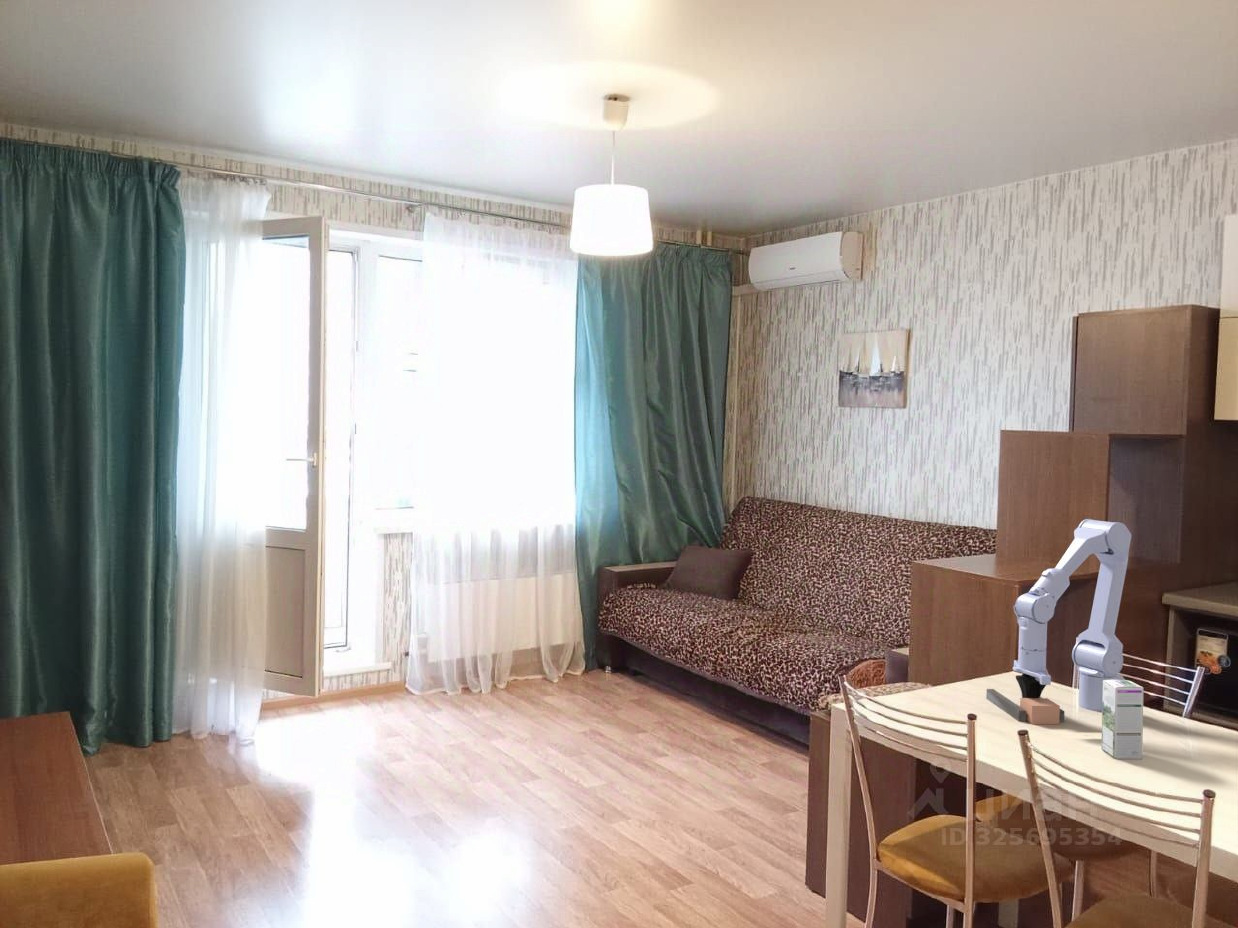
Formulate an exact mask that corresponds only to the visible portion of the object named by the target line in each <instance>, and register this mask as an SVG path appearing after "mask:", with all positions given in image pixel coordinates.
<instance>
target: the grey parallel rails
mask: <svg viewBox="0 0 1238 928" xmlns="http://www.w3.org/2000/svg"><path fill="white" fill-rule="evenodd" d="M985 694H986V697H985V699H986V700H987V701H989V702H990V703H992V704H993V705H995V706H996V707H997V708H999V709H1000V710H1002V711H1003V712H1004V713H1006V714H1007V715H1009V716H1010V717H1011V718H1013V719H1014V720H1016V721H1018V722H1026V723H1027V720H1026V710H1024V709H1023V708H1021V707H1020V705H1018V704H1017V703H1015V702H1014V701H1012V700H1011V699H1009V698H1008V697H1006V696H1004V695H1003V694H1002V693H1000V692H998V691H997V690H996V689H994V688H986V693H985ZM1021 698H1023V697H1022V696H1021ZM1040 698H1043V697H1042V696H1040ZM1065 713H1066V712H1065V710H1063V709H1062V708H1060V714H1059V723H1064V722H1065Z"/></svg>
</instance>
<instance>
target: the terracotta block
mask: <svg viewBox="0 0 1238 928" xmlns="http://www.w3.org/2000/svg"><path fill="white" fill-rule="evenodd" d="M1019 706H1020V707H1021V708H1023V709H1024V710H1026V722H1027V723H1029V724H1031V725H1060V722H1059V714H1060V709H1061V708H1060V707H1061V706H1060V705H1059V704H1057V703H1055V702H1054V701H1052V700H1051V699H1050V698H1048V697H1046V698H1045V697H1042V698H1022V697H1020V700H1019Z"/></svg>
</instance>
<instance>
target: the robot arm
mask: <svg viewBox="0 0 1238 928" xmlns="http://www.w3.org/2000/svg"><path fill="white" fill-rule="evenodd" d="M1073 536H1074V539H1073V540H1072V542H1071V543H1070V545H1069V546H1068V548H1067V550H1066V551H1065V553H1064V554H1063V555H1062V557H1061V558H1060V560H1059V562H1058V563H1057V564H1056V566H1055V567H1054V568H1047V569H1046V570H1043V572H1042V573H1041V576H1040V577H1039V579H1038V580H1037V581H1036V582H1035V583H1034V585H1033V586H1032V587H1031V588H1030V589H1029V591H1028V592H1026V593H1024V594H1021V595H1020V596H1018V597H1017V598H1016V601H1015V603H1014V605H1013V607H1012V608H1013V611H1014V612H1013V613H1014V614H1015V615H1016V619H1017V624H1018V651H1017V652H1018V656H1017V657H1018V658H1017V660H1015V659H1014V660H1013V667H1012V670H1013V671H1014V672H1016V673H1022V674H1021V675H1015V679H1016V682H1017V683H1018V686H1019V688H1020V689H1019V690H1020V692H1021V698H1022V697H1023V698H1040V697H1042V696H1041V695H1042V694H1043V691H1044V689H1045V687H1046V686H1051V685H1052V682H1051V681H1052V676H1051V675H1050V674H1049V672H1048V669H1047V668H1046V667H1047V639H1048V636H1047V635H1048V634H1047V633H1048V632H1047V631H1048V622H1049V621H1050V620H1051V619H1052V618H1053V617H1054V615H1055V607H1056V606H1057V602H1058V600H1059V599H1060V598H1061V596H1062V595H1063V594H1064V593H1065V592H1066V590H1067V588H1069V586H1070V585H1071V584H1070V583H1071V582H1070V577H1071V576H1072V574H1073V573H1074V572H1075V571H1076V570H1077V569H1078V568H1079V567H1080V566H1081V565H1082V564H1083V562H1085V560H1086V559H1088V558H1089V556H1090V555H1094V556H1095V557H1097V559H1098V561H1099V562H1100V566H1099V571H1098V576H1097V582H1096V586H1095V591H1094V597H1093V603H1092V608H1091V613H1090V618H1089V624H1088V628H1087V629H1086V630H1084V631H1083V632H1081V633H1079V634H1078V637H1077V640H1076V643H1075V645H1074V646H1073V648H1072V652H1071V659H1072V661H1073V664H1074V665H1076V670H1077V671H1078V672H1079V678H1078V679H1079V681H1078V707H1080V708H1081V709H1085V710H1088V711H1095V712H1102V703H1103V680H1116V679H1118V680H1126V679H1125V678H1124V676H1123V675H1122V674H1120V672H1121V670H1122V669H1123V665H1124V656H1123V651H1124V650H1123V649H1124V645H1123V643H1122V642H1121V641H1120V639H1119V638H1118V637H1117V636H1116V633H1115V632H1116V627H1117V623H1118V617H1119V611H1120V607H1121V606H1120V605H1121V600H1122V595H1123V591H1124V590H1123V589H1124V584H1125V579H1126V574H1127V568H1128V563H1129V551H1130V547H1131V546H1130V545H1131V540H1132V533H1131V532H1130V530H1129V529H1128V527H1127V525H1126V524H1124V523H1122V522H1119V521H1118V522H1114V521H1113V522H1112V521H1103V520H1095V519H1092V518H1087V519H1086V518H1085V519H1084V520H1082V521H1081V522H1080V523H1079V525H1078V527H1076V528H1075V529H1074V531H1073ZM1096 643H1098V644H1096ZM1100 644H1101V645H1100Z"/></svg>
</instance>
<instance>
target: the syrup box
mask: <svg viewBox="0 0 1238 928" xmlns="http://www.w3.org/2000/svg"><path fill="white" fill-rule="evenodd" d="M1101 712H1102V714H1101V750H1102V752H1105V754H1108V756H1110V757H1111V758H1113V759H1118V760H1143V742H1144V741H1143V738H1144V737H1143V734H1144V731H1143V730H1144V724H1143V723H1144V687H1143V686H1141V685H1139V684H1138V683H1135V682H1134V681H1132V680H1128V679H1125V680H1118V679H1116V680H1103V703H1102V711H1101Z"/></svg>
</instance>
